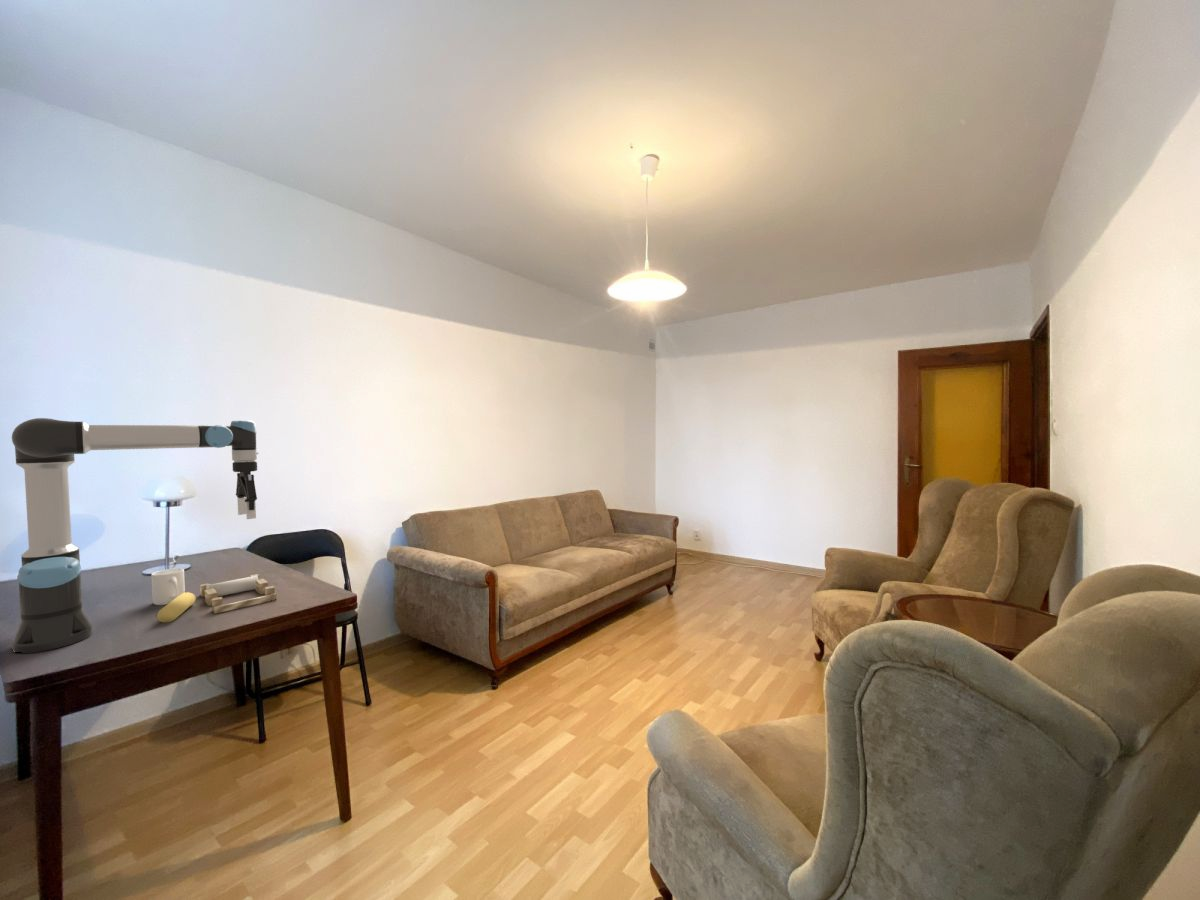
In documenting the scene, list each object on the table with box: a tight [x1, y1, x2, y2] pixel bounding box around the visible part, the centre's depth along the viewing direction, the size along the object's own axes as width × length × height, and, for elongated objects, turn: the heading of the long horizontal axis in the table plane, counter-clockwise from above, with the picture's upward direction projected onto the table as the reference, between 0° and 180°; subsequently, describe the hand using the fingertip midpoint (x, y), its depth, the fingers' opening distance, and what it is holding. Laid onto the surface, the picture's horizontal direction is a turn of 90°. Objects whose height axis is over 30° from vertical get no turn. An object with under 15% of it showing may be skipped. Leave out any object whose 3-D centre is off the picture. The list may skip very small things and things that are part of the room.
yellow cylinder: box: [156, 591, 196, 623], centre depth 158 cm, size 15×5×5 cm, turn 23°
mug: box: [150, 567, 186, 606], centre depth 168 cm, size 9×12×11 cm
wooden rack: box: [199, 573, 278, 615], centre depth 173 cm, size 18×27×4 cm, turn 48°
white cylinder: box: [206, 576, 260, 598], centre depth 178 cm, size 15×5×5 cm, turn 138°
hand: (246, 516), depth 181 cm, fingers open, 13 cm apart
